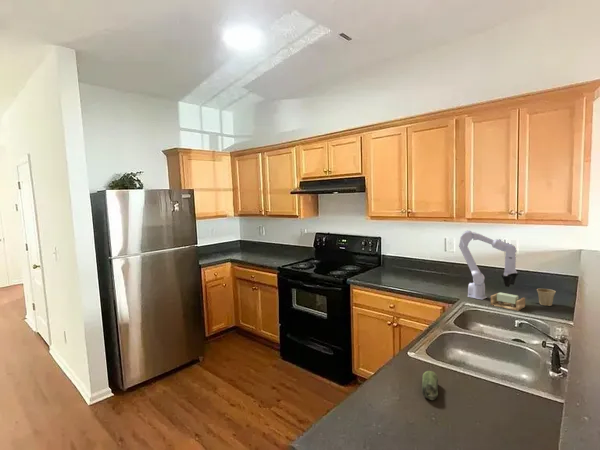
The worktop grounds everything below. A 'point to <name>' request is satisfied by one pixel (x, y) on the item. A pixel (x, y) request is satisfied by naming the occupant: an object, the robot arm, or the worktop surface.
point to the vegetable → (430, 385)
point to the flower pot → (546, 296)
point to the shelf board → (507, 298)
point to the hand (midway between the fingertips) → (509, 285)
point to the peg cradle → (517, 306)
